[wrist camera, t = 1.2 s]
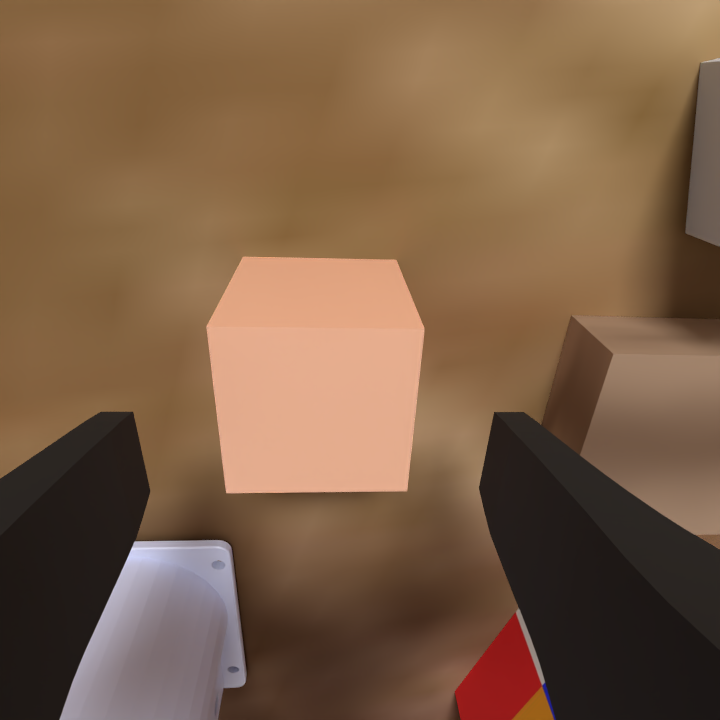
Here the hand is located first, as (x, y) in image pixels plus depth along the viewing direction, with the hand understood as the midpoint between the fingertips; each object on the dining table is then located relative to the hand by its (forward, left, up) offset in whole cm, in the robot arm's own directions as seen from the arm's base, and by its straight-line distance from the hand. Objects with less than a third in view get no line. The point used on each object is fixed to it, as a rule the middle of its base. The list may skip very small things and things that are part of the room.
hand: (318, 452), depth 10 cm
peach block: (0, 0, -6) cm, 6 cm away
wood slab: (-3, -11, -7) cm, 14 cm away
